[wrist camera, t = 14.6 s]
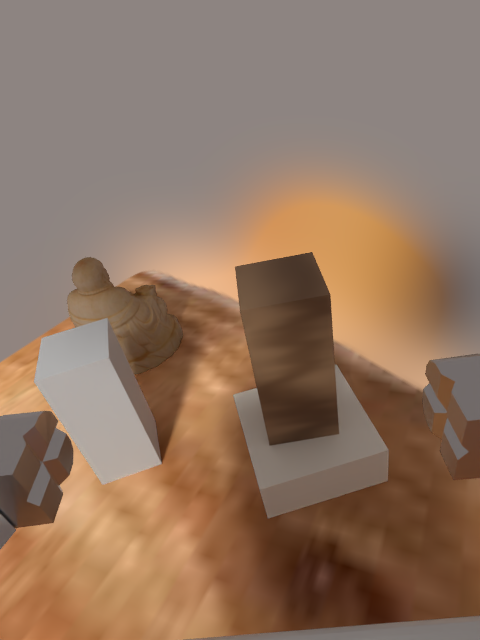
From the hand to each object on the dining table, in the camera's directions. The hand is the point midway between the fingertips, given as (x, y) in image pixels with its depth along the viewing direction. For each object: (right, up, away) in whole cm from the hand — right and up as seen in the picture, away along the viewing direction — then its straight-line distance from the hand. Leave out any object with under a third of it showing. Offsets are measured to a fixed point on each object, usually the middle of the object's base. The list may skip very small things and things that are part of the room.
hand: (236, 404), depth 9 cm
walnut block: (+5, -5, +23) cm, 24 cm away
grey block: (-9, -10, +28) cm, 31 cm away
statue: (-12, -1, +41) cm, 43 cm away
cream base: (+6, -9, +25) cm, 27 cm away
